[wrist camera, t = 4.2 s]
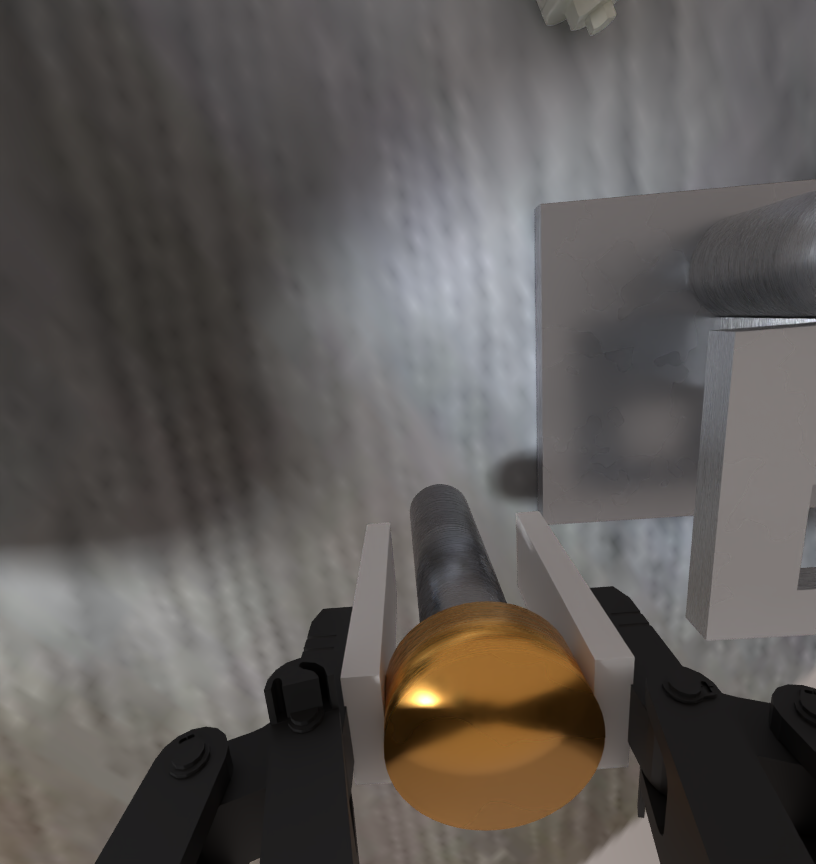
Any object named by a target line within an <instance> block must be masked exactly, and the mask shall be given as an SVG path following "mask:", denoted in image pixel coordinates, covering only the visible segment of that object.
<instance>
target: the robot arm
mask: <svg viewBox="0 0 816 864" xmlns="http://www.w3.org/2000/svg"><path fill="white" fill-rule="evenodd" d="M516 532H517V582H518V588H519V590H520V593H521V595H522V598H523V600H524V602H525V605H526V607H527V609H528V610H530V611H532V612H534V613H536V614H538V615H539V616H541V617H542V618H544V619H545V620H547V621H548V622H549V623H550V624H551V625H553V626H554V627H555V628H556V629H557V630H558V632H559V633H560V634H561V635H562V636H563V638H564V640H565V641H566V643H567V645H568V646H569V648H570V650H571V652H572V654H573V656H574V658H575V660H576V662H577V664H578V665H579V667H580V669H581V671H582V673H583V675H584V677H585V679H586V681H587V683H588V684H589V686H590V688H591V690H592V692H593V694H594V696H595V698H596V700H597V702H598V704H599V706H600V709H601V711H602V714H603V718H604V723H605V745H604V750H603V754H602V757H601V760H600V763H599V765H598V767H597V769H604V768H619V767H628V763H629V746H630V747H631V749H632V751H633V753H634V755H635V757H636V759H637V761H638V763H639V765H640V776H639V790H638V817H641V818H644V813H645V808H646V812H647V816H648V820H649V823H650V827H651V831H652V834H653V838H654V842H655V845H656V849H657V853H658V857H659V860H660V864H816V689H815V688H811V687H808V686H804V685H789V684H788V685H784V686H781V687H778V688H777V689H776V690H775V691H774V693H773V694H772V699H771V703H766V702H761V701H755V700H750V699H744V698H739V697H734V696H730V695H726V694H723V693H721V691H720V690H719V689H718V688H717V686H716V685H715V684H714V683H713V682H712V681H711V680H709V679H708V678H707V677H705V676H704V675H702V674H701V673H699V672H696V671H694V670H692V669H689V668H687V667H683V666H682V665H681V664H680V662H679V661H678V660H677V658H676V657H675V656H674V655H673V653H672V652H671V651H670V649H669V648H668V647H667V645H666V644H665V643H664V642H663V640H662V639H661V638H660V636H659V635H658V634H657V633H656V631H655V630H654V629H653V627H652V626H651V625H649V622H648V621H647V620H646V618H645V617H644V616H643V614H641V613H640V610H639V609H638V608H637V607H636V605H635V604H634V603H633V601H632V600H631V599H630V598H629V597H628V596H626V595H625V594H623V593H622V592H620V591H619V590H617V589H616V588H614V587H613V586H611V587H597V588H589V587H588V585H587V584H586V582H585V580H584V579H583V577H582V576H581V574H580V573H579V571H578V570H577V568H576V567H575V565H574V564H573V562H572V561H571V559H570V558H569V556H568V554H567V553H566V551H565V550H564V548H563V547H562V545H561V544H560V542H559V541H558V539H557V538H556V536H555V535H554V533H553V532H552V530H551V528H550V527H549V525H548V524H547V522H546V521H545V519H544V518H543V516H542V515H541V513H540V512H539V511H533V512H520V513H516ZM396 613H397V589H396V579H395V569H394V558H393V548H392V538H391V528H390V522H388V523H375V524H367V528H366V534H365V539H364V545H363V551H362V556H361V562H360V568H359V574H358V579H357V585H356V591H355V597H354V602H353V607H342V608H328V609H323V610H322V611H321V612H320V613H319V614H318V615H317V617H316V618H315V619H314V620H313V621H312V623H311V626H310V630H309V633H308V639H307V640H306V643H305V647H304V652H303V653H302V657H301V658H299V659H296V660H293V661H290V662H287V663H286V664H284V665H283V666H281V667H280V668H278V669H277V670H275V672H274V673H273V674H272V675H271V676H270V678H269V679H268V680H267V683H266V686H265V689H264V693H265V698H266V703H267V708H268V714H269V719H270V723H269V724H267V725H266V726H264V727H263V728H260V729H258V730H256V731H254V732H251V733H249V734H246V735H243V736H240V737H237V738H235V739H232V740H229V741H227V738H226V735H225V734H224V733H223V732H222V731H220V730H219V729H218V728H212V727H202V728H197V729H192V730H190V731H188V732H186V733H184V734H182V735H180V736H178V737H177V738H176V739H174V740H173V741H172V742H171V743H169V744H168V745H167V746H166V747H165V748H164V749H163V750H162V751H161V753H160V754H159V755H158V757H157V758H156V759H155V761H154V762H153V764H152V766H151V768H150V769H149V771H148V773H147V774H146V776H145V778H144V780H143V781H142V783H141V785H140V786H139V788H138V790H137V792H136V793H135V795H134V797H133V799H132V800H131V802H130V804H129V805H128V807H127V809H126V811H125V812H124V814H123V816H122V817H121V819H120V821H119V823H118V824H117V826H116V828H115V830H114V831H113V833H112V835H111V836H110V838H109V840H108V842H107V843H106V845H105V847H104V848H103V850H102V852H101V854H100V855H99V857H98V859H97V861H96V862H95V864H249V863H250V862H251V861H254V860H256V859H258V858H260V864H359V856H358V846H357V837H356V827H355V817H354V807H353V801H352V794H351V788H352V779H353V770H354V777H355V784H356V785H366V784H381V783H392V781H391V780H390V777H389V774H388V772H387V769H386V764H385V759H384V715H385V683H386V672H387V668H388V665H389V662H390V659H391V657H392V655H393V653H394V651H395V649H396Z"/></svg>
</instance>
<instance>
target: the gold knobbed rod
mask: <svg viewBox="0 0 816 864" xmlns="http://www.w3.org/2000/svg"><path fill="white" fill-rule="evenodd" d="M410 520H411V531H412V542H413V553H414V564H415V575H416V586H417V597H418V608H419V619H420V623H419V624H418V625H417V626H416V627H414V628H413V629H412V630H411V631H410V632H409V633H408V634H407V635H406V636H405V637H404V638H403V640H402V641H401V642H400V643H399V645H398V646H397V648H396V650H395V651H394V653H393V655H392V657H391V659H390V662H389V665H388V668H387V672H386V683H385V715H384V759H385V764H386V769H387V772H388V774H389V777H390V780H391V781H392V783H393V785H394V787H395V788H396V790H397V791H398V792H399V794H400V795H401V796H402V797H403V799H404V800H406V801H407V802H408V803H409V804H410V805H411V806H412V807H413V808H415V809H416V810H418V811H419V812H420V813H422V814H424V815H425V816H427V817H429V818H431V819H433V820H435V821H438V822H441V823H443V824H446V825H450V826H453V827H457V828H463V829H470V830H500V829H507V828H513V827H517V826H521V825H525V824H528V823H531V822H534V821H536V820H539V819H541V818H543V817H545V816H548V815H550V814H551V813H553V812H555V811H556V810H558V809H560V808H561V807H563V806H564V805H565V804H567V803H568V802H569V801H571V800H572V799H573V798H574V797H575V796H576V795H577V794H578V793H579V792H580V791H582V789H583V788H584V787H585V786H586V784H587V783H588V782H589V781H590V779H591V778H592V776H593V774H594V773H595V771H596V769H597V767H598V765H599V763H600V760H601V757H602V754H603V750H604V745H605V723H604V718H603V714H602V711H601V709H600V706H599V704H598V702H597V700H596V698H595V696H594V694H593V692H592V690H591V688H590V686H589V684H588V683H587V681H586V679H585V677H584V675H583V673H582V671H581V669H580V667H579V665H578V664H577V662H576V660H575V658H574V656H573V654H572V652H571V650H570V648H569V646H568V645H567V643H566V641H565V640H564V638H563V636H562V635H561V634H560V633H559V632H558V630H557V629H556V628H555V627H554V626H553V625H551V624H550V623H549V622H548V621H547V620H545V619H544V618H542V617H541V616H539V615H538V614H536V613H534V612H532V611H530V610H528V609H525V608H522V607H519V606H516V605H512V604H507V602H506V600H505V597H504V595H503V592H502V590H501V587H500V584H499V582H498V579H497V577H496V574H495V572H494V569H493V567H492V564H491V562H490V559H489V557H488V554H487V552H486V549H485V546H484V544H483V541H482V539H481V536H480V534H479V531H478V529H477V526H476V524H475V521H474V519H473V516H472V513H471V511H470V508H469V506H468V503H467V501H466V499H465V497H464V496H463V494H462V493H461V492H460V491H459V490H457V489H456V488H454V487H451V486H449V485H443V484H437V485H432V486H429V487H426V488H425V489H423V490H421V491H420V492H419V493H418V494H417V495H416V496H415V498H414V499H413V501H412V503H411V507H410Z"/></svg>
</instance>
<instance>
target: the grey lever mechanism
mask: <svg viewBox="0 0 816 864" xmlns="http://www.w3.org/2000/svg"><path fill="white" fill-rule="evenodd" d="M535 288H536V385H537V481H538V511H539V512H540V513H541V515H542V516H543V518H544V519H545V521H546V522H547V524H548V525H552V524H568V523H583V522H599V521H615V520H630V519H646V518H661V517H677V516H693V515H694V521H693V534H692V546H691V558H690V571H689V583H688V595H687V608H686V618H687V619H688V620H689V622H690V623H691V624H692V625H693V626H694V627H695V628H696V630H697V631H698V632H699V633H700V634H701V635H702V636H703V637H704V639H705V640H725V639H743V638H762V637H780V636H799V635H816V567H812V568H800V566H801V560H802V553H803V546H804V539H805V533H806V526H807V519H808V512H809V508H816V179H813V180H802V181H790V182H779V183H768V184H757V185H746V186H735V187H724V188H713V189H702V190H691V191H680V192H669V193H658V194H647V195H636V196H625V197H614V198H603V199H592V200H581V201H569V202H558V203H547V204H540V205H539V206H538V207H537V208H536V209H535Z"/></svg>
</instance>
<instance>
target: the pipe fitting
mask: <svg viewBox="0 0 816 864" xmlns="http://www.w3.org/2000/svg"><path fill="white" fill-rule="evenodd" d="M536 1H537V3H538V6H539V9H540V11H541V14H542V16H543V19H544V22H545V24H546V25H548V26H553V25H557V24H559V23H561V22H563V21H564V20H566V19H567V21H568V24H569V27H570V29H571V31H575V30H580V29H582V28H584V27H586V28H587V30H588V33H589V36H593V35H595V34H597V33H599V32H600V31H602V30H603V29H604V28H606V27H607V26H608V25H609V24H610V23H611V22H612V21H613V20H614V19H615V17H616V15H617V14H616V11H615V8H614V4H615V3H616V2H617V1H618V0H536Z"/></svg>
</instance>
